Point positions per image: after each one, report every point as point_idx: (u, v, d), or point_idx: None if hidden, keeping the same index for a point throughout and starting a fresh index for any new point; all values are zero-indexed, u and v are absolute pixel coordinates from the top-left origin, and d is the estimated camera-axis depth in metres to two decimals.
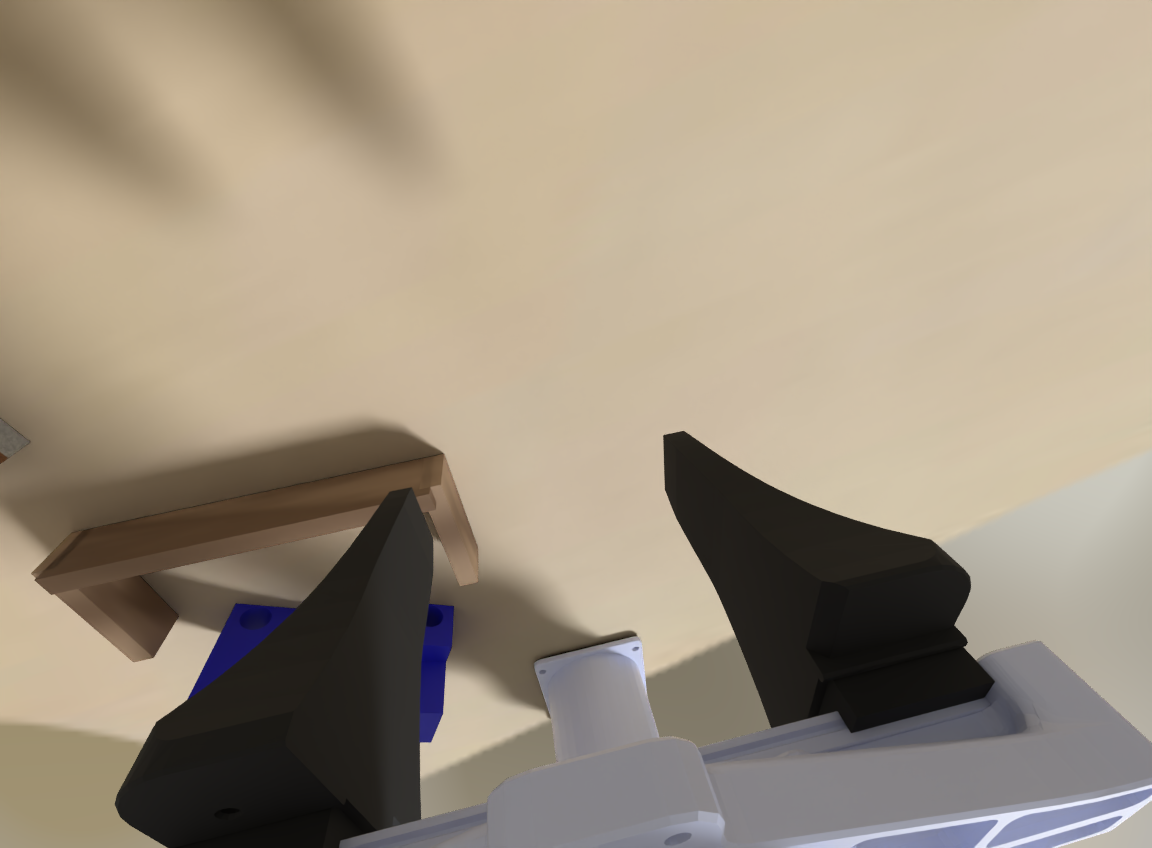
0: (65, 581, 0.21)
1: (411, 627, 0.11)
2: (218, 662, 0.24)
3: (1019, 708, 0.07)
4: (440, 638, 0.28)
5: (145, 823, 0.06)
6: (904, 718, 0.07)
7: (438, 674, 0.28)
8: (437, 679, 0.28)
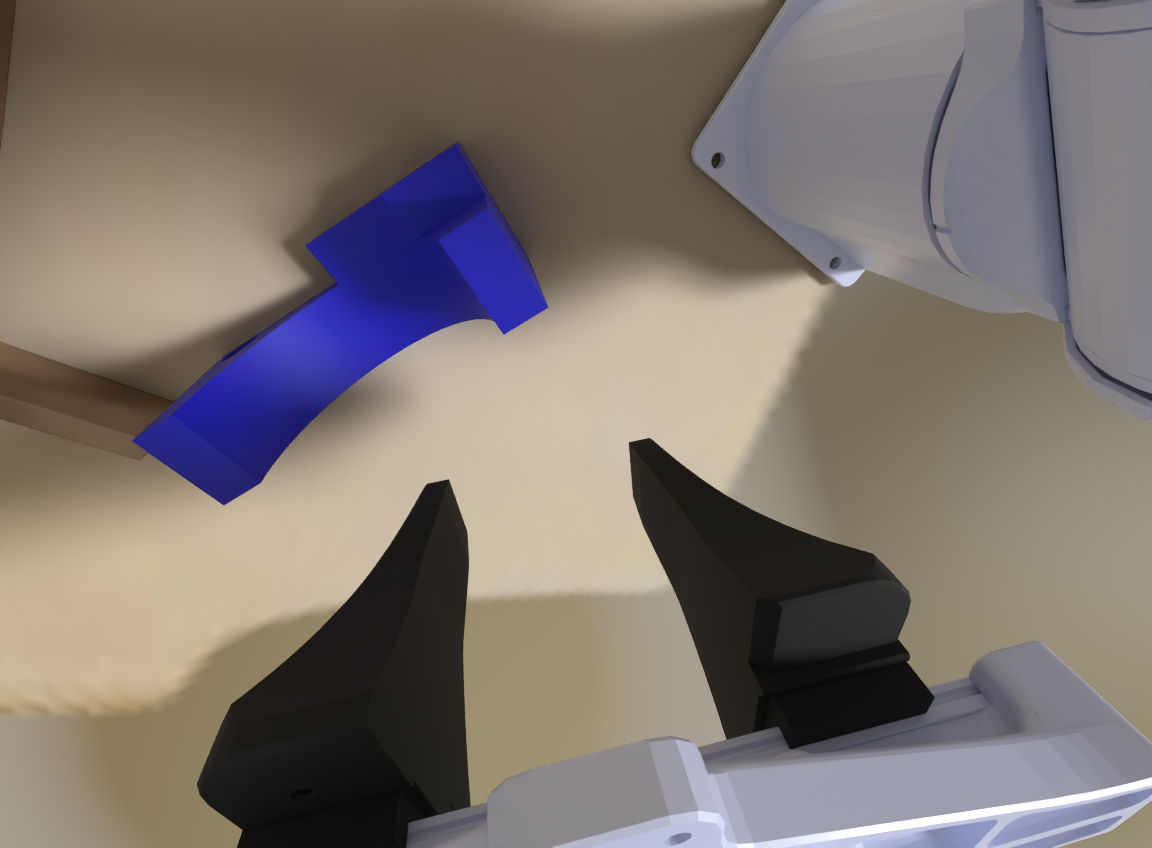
0: None
1: (454, 617, 0.11)
2: (186, 393, 0.15)
3: (1019, 708, 0.07)
4: None
5: (223, 803, 0.06)
6: (844, 734, 0.07)
7: (474, 204, 0.14)
8: (473, 206, 0.14)
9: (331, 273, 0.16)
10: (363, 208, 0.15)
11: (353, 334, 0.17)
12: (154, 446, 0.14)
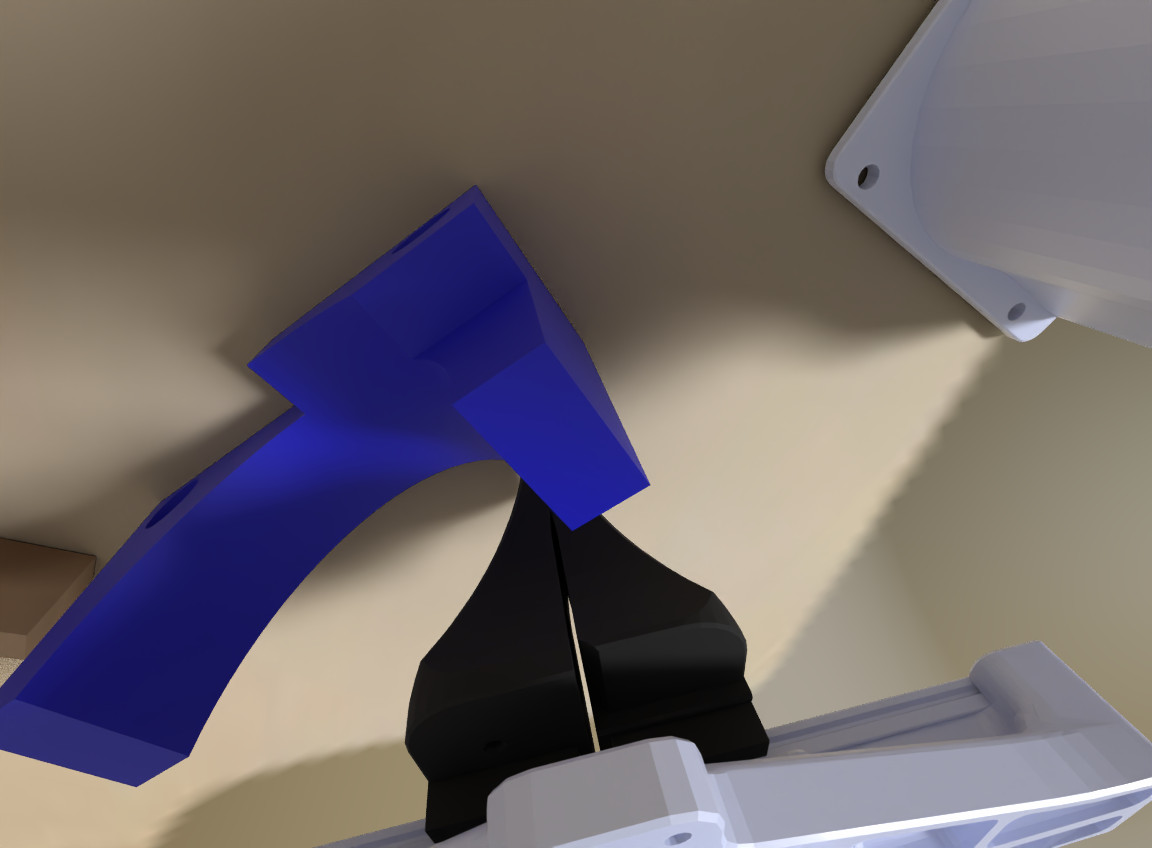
0: None
1: (565, 592, 0.11)
2: (75, 608, 0.10)
3: (1019, 708, 0.07)
4: (442, 223, 0.08)
5: (423, 754, 0.07)
6: None
7: (511, 305, 0.08)
8: (510, 312, 0.08)
9: (292, 399, 0.11)
10: (328, 311, 0.09)
11: (333, 477, 0.12)
12: (0, 739, 0.08)
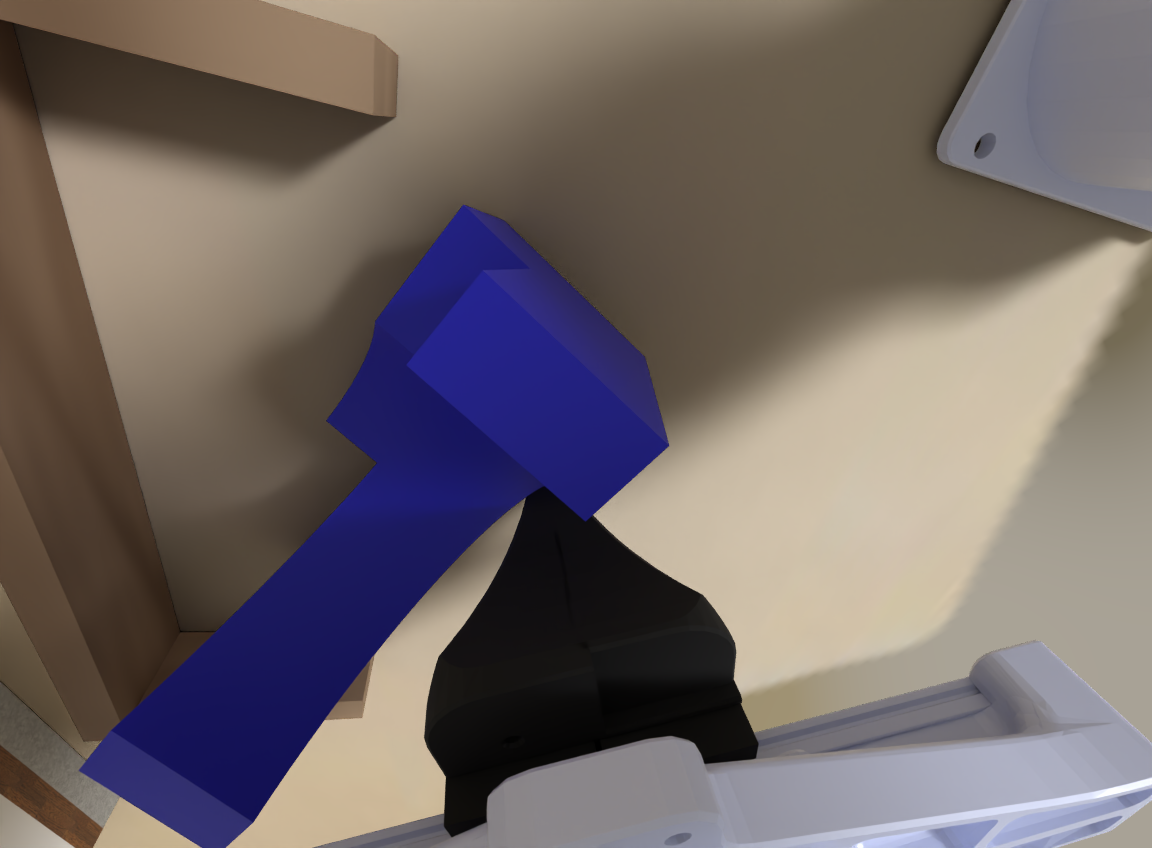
0: (94, 721, 0.13)
1: None
2: None
3: (1019, 708, 0.07)
4: None
5: (442, 749, 0.07)
6: None
7: None
8: None
9: (367, 450, 0.11)
10: (371, 349, 0.10)
11: (408, 528, 0.12)
12: (106, 776, 0.09)
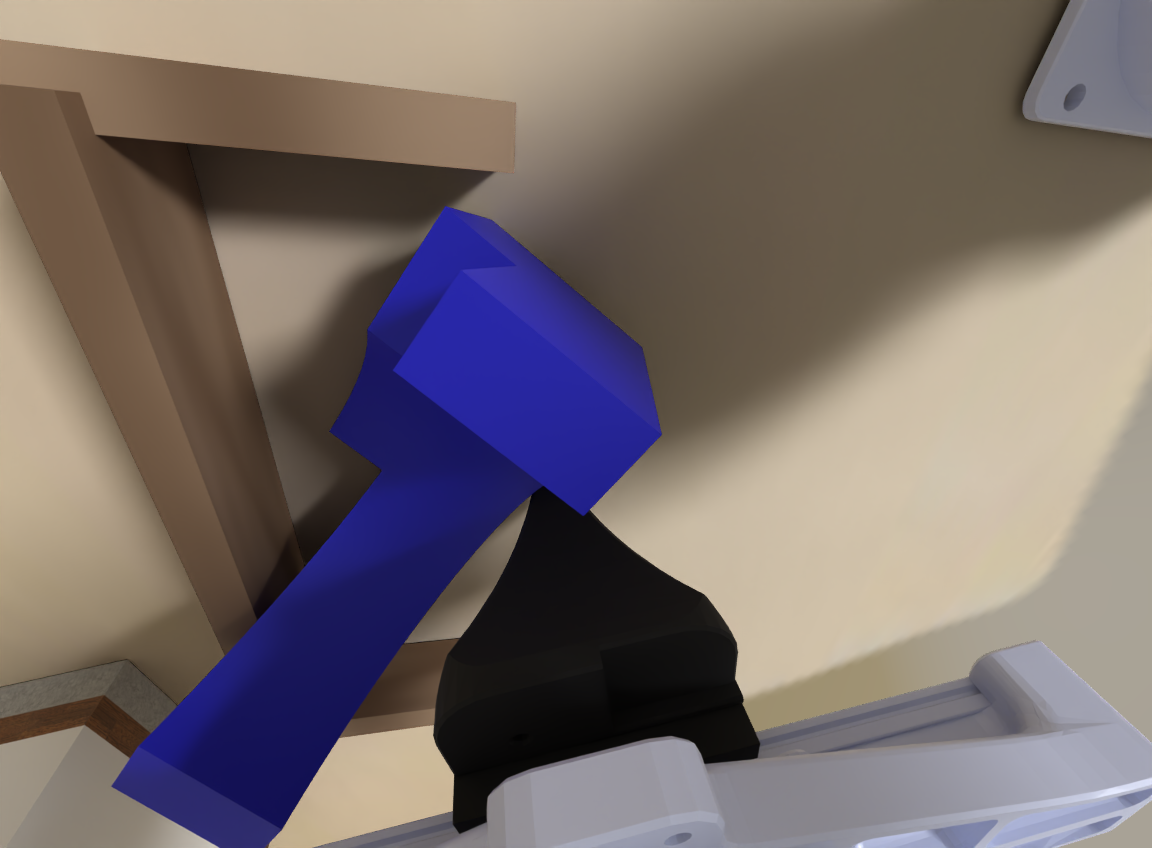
0: None
1: None
2: None
3: (1019, 708, 0.07)
4: None
5: (451, 746, 0.07)
6: None
7: None
8: None
9: (371, 458, 0.12)
10: (367, 358, 0.10)
11: (417, 533, 0.12)
12: (138, 790, 0.09)
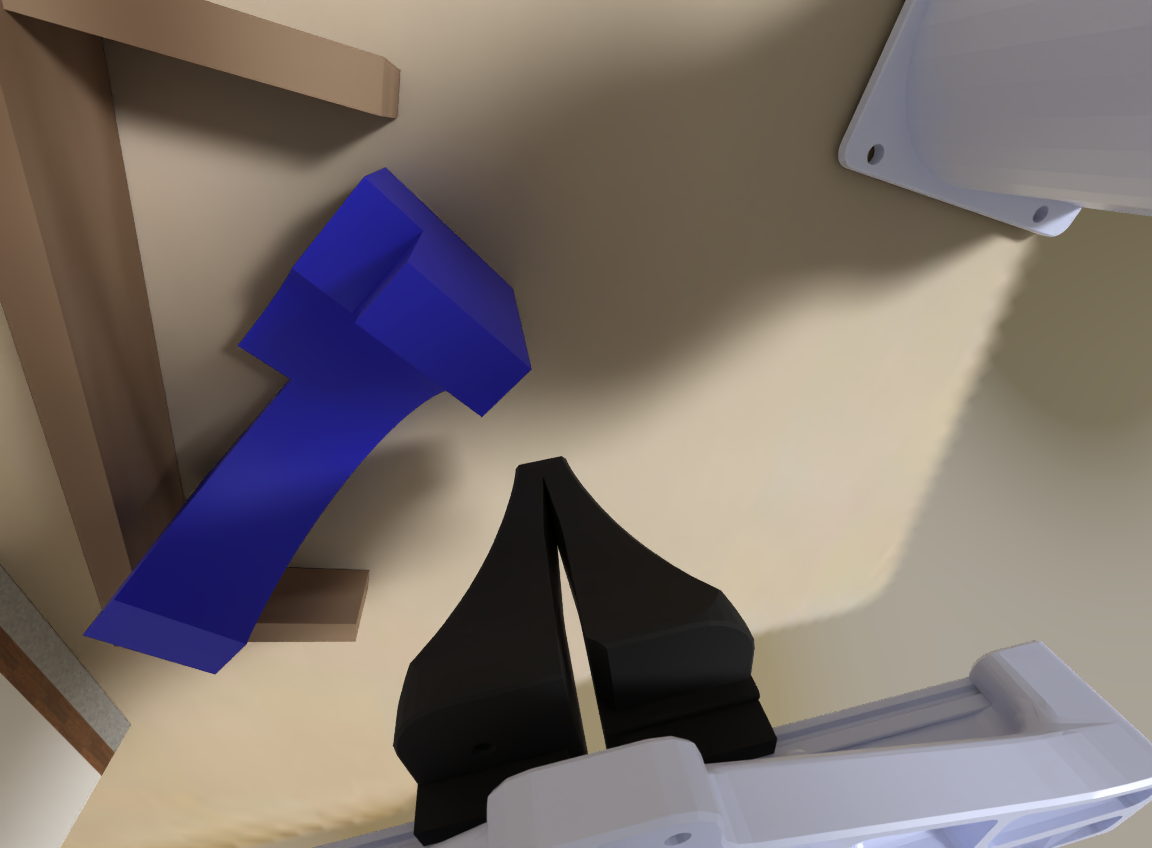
0: None
1: (558, 593, 0.11)
2: (149, 550, 0.13)
3: (1019, 708, 0.07)
4: None
5: (411, 756, 0.07)
6: None
7: (408, 251, 0.10)
8: (405, 255, 0.10)
9: (279, 369, 0.13)
10: (283, 287, 0.12)
11: (325, 431, 0.14)
12: (110, 635, 0.11)
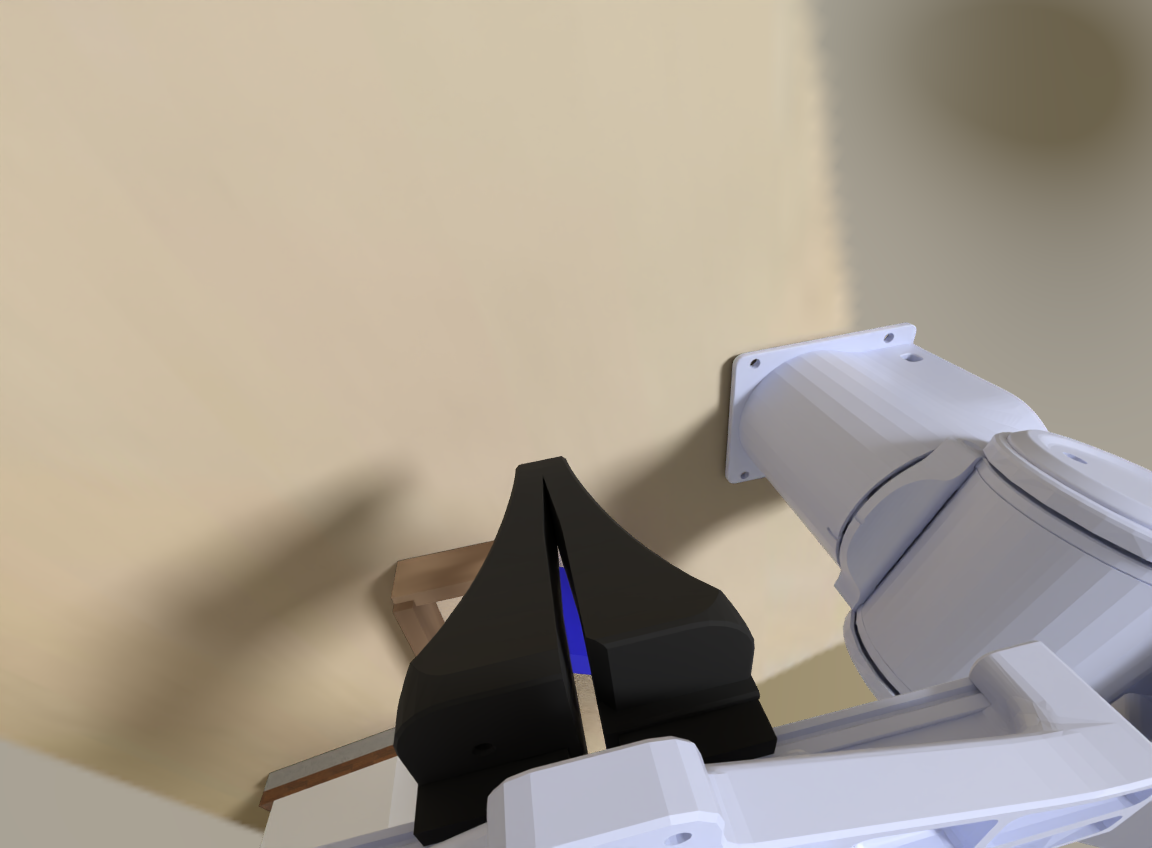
0: None
1: (558, 593, 0.11)
2: None
3: (1019, 708, 0.07)
4: None
5: (412, 756, 0.07)
6: None
7: None
8: None
9: None
10: None
11: None
12: None
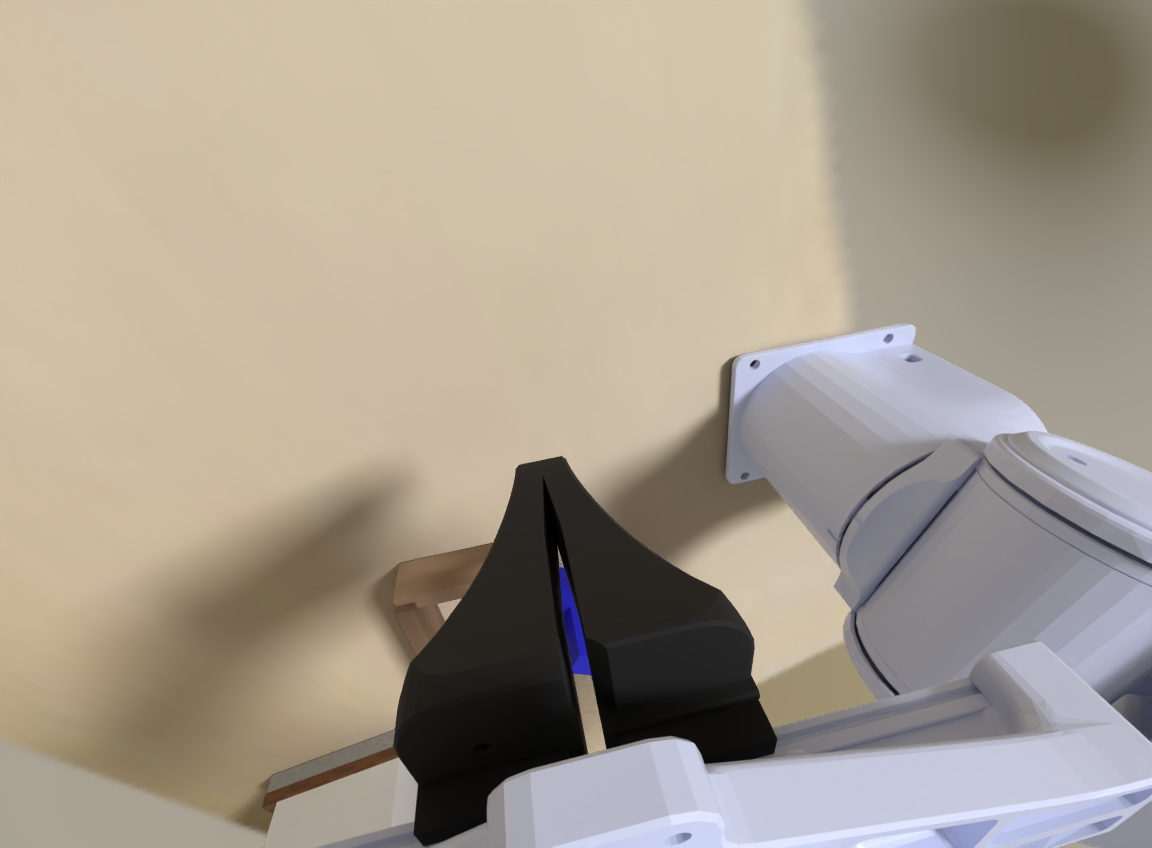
0: None
1: (558, 593, 0.11)
2: None
3: (1019, 708, 0.07)
4: None
5: (412, 756, 0.07)
6: None
7: (569, 623, 0.27)
8: (570, 628, 0.26)
9: None
10: None
11: None
12: None
